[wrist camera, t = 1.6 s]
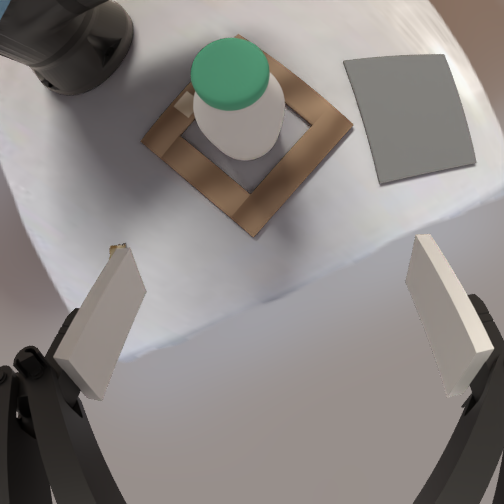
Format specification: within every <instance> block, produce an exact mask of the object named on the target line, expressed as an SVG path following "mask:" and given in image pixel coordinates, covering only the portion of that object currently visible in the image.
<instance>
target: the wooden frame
mask: <svg viewBox="0 0 504 504" xmlns="http://www.w3.org/2000/svg"><path fill="white" fill-rule="evenodd" d="M235 38H239V39H244V40H247V39H245V38H244V37H242V36H241V35H239V34H238V35H237V36H236V37H235ZM247 41H248V40H247ZM249 42H250V41H249ZM259 49H260V48H259ZM260 50H261V49H260ZM261 51H262V52H263V53H264V55H265V56H266V58H267V60H268V64H269V71H270V73H271V74H272V75H273V76H274V77H275V78H276V80H277V81H278V83H279V84H280V86H281V88H282V91H283V94H284V99H285V103H286V104H287V105H288V106H289V107H291V108H292V109H293V110H294V111H295V112H297V113H298V114H299V115H300V116H301V117H303V118H304V119H305V120H306V121H307V122H308V123H310V124H311V125H312V126H311V127H310V128H309V130H308V131H307V132H306V133H305V134H304V135H303V136H302V137H301V138H300V139H299V141H298V142H297V143H296V144H295V145H294V146H293V147H292V148H291V149H290V150H289V152H288V153H287V154H286V155H285V156H284V157H283V158H282V159H281V161H280V162H279V163H278V164H277V165H276V166H275V167H274V168H273V169H272V171H271V172H270V173H269V174H268V175H267V176H266V177H265V179H264V180H263V181H262V182H261V183H260V184H259V185H258V187H257V188H256V189H255V190H254V191H253V192H252V193H251V195H250V194H249V193H248V192H247V191H246V190H245V189H243V188H242V187H241V186H240V185H239V184H238V183H236V182H235V181H234V180H233V179H232V178H230V177H229V176H228V175H227V174H226V173H225V172H223V171H222V170H221V169H220V168H219V167H217V166H216V165H215V164H214V163H213V162H211V161H210V160H209V159H208V158H207V157H205V156H204V155H203V154H202V153H200V152H199V151H198V150H197V149H196V148H194V147H193V146H192V145H191V144H189V143H188V142H187V141H186V140H185V139H183V138H182V137H181V135H182V134H183V132H184V131H185V130H186V129H187V128H188V127H189V125H190V124H191V123H192V122H193V121H194V120H195V115H194V110H193V100H194V94H195V89H194V87H193V85H192V82H190V83H189V84H188V85H187V86H186V87H185V89H184V90H183V91H182V92H181V93H180V94H179V95H178V96H177V97H176V99H175V100H174V101H173V102H172V103H171V104H170V106H169V107H168V108H167V109H166V110H165V111H164V113H163V114H162V115H161V116H160V117H159V119H158V120H157V121H156V122H155V123H154V125H153V126H152V127H151V128H150V130H149V131H148V132H147V133H146V135H145V136H144V137H143V139H142V140H141V141H140V142H141V143H143V144H144V145H145V146H146V147H147V148H149V149H150V150H151V151H152V152H153V153H155V154H156V155H157V156H158V157H159V158H161V159H162V160H163V161H164V162H165V163H166V164H168V165H169V166H170V167H171V168H172V169H174V170H175V171H176V172H177V173H178V174H180V175H181V176H182V177H183V178H184V179H185V180H187V181H188V182H189V183H190V184H191V185H193V186H194V187H195V188H196V189H197V190H198V191H200V192H201V193H202V194H203V195H204V196H205V197H207V198H208V199H209V200H210V201H211V202H213V203H214V204H215V205H216V206H217V207H218V208H220V209H221V210H222V211H223V212H224V213H225V214H227V215H228V216H229V217H230V218H231V219H232V220H234V221H235V222H236V223H237V224H238V225H239V226H241V227H242V228H243V229H244V230H245V231H246V232H248V233H249V234H250V235H251V236H252V237H254V236H255V235H256V234H257V233H258V232H259V231H260V230H261V228H262V227H263V226H264V225H265V224H266V223H267V222H268V220H269V219H270V218H271V217H272V216H273V215H274V214H275V213H276V211H277V210H278V209H279V208H280V207H281V206H282V205H283V203H284V202H285V201H286V200H287V199H288V198H289V197H290V196H291V194H292V193H293V192H294V191H295V190H296V189H297V188H298V187H299V185H300V184H301V183H302V182H303V181H304V180H305V179H306V177H307V176H308V175H309V174H310V173H311V172H312V171H313V170H314V168H315V167H316V166H317V165H318V164H319V163H320V162H321V161H322V160H323V158H324V157H325V156H326V155H327V154H328V153H329V152H330V151H331V149H332V148H333V147H334V146H335V145H336V144H337V143H338V142H339V140H340V139H341V138H342V137H343V136H344V135H345V134H346V133H347V132H348V130H349V129H350V128H351V127H352V126H353V124H352V123H351V122H350V121H349V120H348V119H347V118H346V117H345V116H344V115H342V114H341V113H340V112H339V111H338V110H337V109H336V108H335V107H333V106H332V105H331V104H330V103H329V102H328V101H327V100H325V99H324V98H323V97H322V96H321V95H320V94H318V93H317V92H316V91H315V90H314V89H312V88H311V87H310V86H309V85H307V84H306V83H305V82H304V81H302V80H301V79H300V78H299V77H297V76H296V75H295V74H294V73H292V72H291V71H290V70H288V69H287V68H286V67H284V66H283V65H282V64H280V63H279V62H278V61H276V60H275V59H274V58H272V57H271V56H270V55H268V54H267V53H265V52H264V51H263V50H261Z"/></svg>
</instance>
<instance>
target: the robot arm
mask: <svg viewBox="0 0 504 504" xmlns="http://www.w3.org/2000/svg"><path fill="white" fill-rule="evenodd" d="M132 35H133V25H132V21H131V18H130V16H129V15H128V13H127V12H126V11H125V10H124V9H123V8H122V6H121V5H119V4H118V3H117V2H115V1H113V0H0V55H2V56H4V57H7V58H10V59H12V60H15V61H18V62H20V63H23V64H25V65H27V66H29V67H30V68H31V69H32V70H33V72H34V73H35V74H36V76H37V77H38V78H39V80H40V81H41V82H42V83H43V85H44V86H46V87H47V88H48V89H50V90H52V91H55V92H57V93H60V94H63V95H77V94H81V93H84V92H87V91H89V90H91V89H93V88H95V87H96V86H98V85H99V84H101V83H102V82H104V81H105V80H106V79H107V78H108V77H109V76H110V75H111V74H112V73H113V72H114V71H115V70H116V69H117V68H118V66H119V65H120V64H121V62H122V61H123V59H124V57H125V56H126V54H127V52H128V50H129V47H130V44H131V41H132ZM405 283H406V285H407V287H408V290H409V292H410V295H411V297H412V299H413V302H414V304H415V307H416V309H417V312H418V314H419V317H420V320H421V322H422V325H423V327H424V330H425V333H426V336H427V338H428V341H429V344H430V347H431V350H432V352H433V355H434V358H435V361H436V364H437V367H438V370H439V373H440V377H441V380H442V383H443V386H444V390H445V393H446V396H447V397H451V396H456V395H460V394H463V393H464V392H465V391H466V389H467V388H468V387H469V385H470V387H471V390H472V394H471V395H470V396H469V398H468V399H467V400H466V401H465V402H464V404H463V405H462V407H465V408H464V411H463V413H462V415H461V417H460V420H459V422H458V424H457V426H456V428H455V430H454V432H453V434H452V436H451V439H450V440H449V442H448V444H447V446H446V448H445V450H444V452H443V454H442V456H441V458H440V460H439V461H438V463H437V465H436V467H435V468H434V470H433V472H432V474H431V475H430V477H429V479H428V480H427V482H426V484H425V485H424V487H423V489H422V490H421V492H420V493H419V495H418V496H417V498H416V499H415V501H414V502H413V504H479V503H480V501H481V499H482V497H483V495H484V493H485V491H486V489H487V487H488V485H489V482H490V480H491V478H492V476H493V473H494V471H495V469H496V466H497V464H498V461H499V459H500V456H501V454H502V451H503V457H502V462H501V467H500V473H499V478H498V482H497V487H496V491H495V495H494V499H493V503H492V504H504V450H503V448H504V340H503V338H502V336H501V334H500V332H499V330H498V328H497V326H496V324H495V322H493V318H492V317H491V315H490V314H489V311H488V309H487V307H486V306H485V304H484V303H483V301H482V300H481V299H480V298H479V297H478V296H476V295H475V294H471V295H467V294H466V292H465V290H464V289H463V287H462V285H461V283H460V282H459V280H458V278H457V276H456V275H455V273H454V271H453V270H452V268H451V266H450V265H449V263H448V261H447V260H446V258H445V257H444V255H443V254H442V252H441V250H440V249H439V247H438V246H437V244H436V242H435V241H434V239H433V238H432V237H431V235H430V234H420V235H415V240H414V245H413V250H412V255H411V259H410V263H409V268H408V272H407V276H406V280H405ZM146 292H147V291H146V289H145V286H144V284H143V281H142V278H141V276H140V273H139V270H138V268H137V265H136V262H135V260H134V257H133V254H132V251H131V249H130V248H119V249H116V251H115V252H114V254H113V255H112V257H111V258H110V260H109V261H108V263H107V264H106V266H105V268H104V269H103V271H102V272H101V274H100V275H99V277H98V279H97V280H96V282H95V284H94V285H93V287H92V288H91V290H90V292H89V293H88V295H87V297H86V298H85V300H84V302H83V304H82V305H81V307H80V308H75V309H74V310H73V311H72V312H71V313H70V314H69V315H68V316H67V318H66V319H65V321H64V323H63V325H62V327H61V328H60V330H59V332H58V334H57V335H56V337H55V339H54V341H53V343H52V344H51V347H50V348H49V350H48V352H47V354H46V356H45V357H44V356H43V355H42V354H41V352H40V351H39V350H38V348H36V347H35V346H27V347H25V348H23V349H22V350H20V351H19V353H18V354H17V355H16V357H15V359H14V363H13V366H14V367H15V368H16V369H17V370H18V371H19V372H17V373H15V372H14V371H13V370H12V369H11V368H10V367H9V366H2V367H0V504H52V497H51V490H50V486H51V489H52V492H53V494H54V497H55V500H56V502H57V504H126V502H125V500H124V498H123V496H122V494H121V492H120V491H119V489H118V487H117V485H116V483H115V481H114V479H113V477H112V475H111V473H110V470H109V468H108V466H107V464H106V462H105V460H104V457H103V455H102V453H101V451H100V448H99V446H98V444H97V441H96V439H95V436H94V434H93V431H92V429H91V426H90V424H89V421H88V418H87V416H86V413H85V410H84V408H83V405H82V402H81V400H80V398H79V397H78V395H79V393H80V391H81V392H82V393H83V394H84V395H85V396H86V397H87V398H89V399H94V400H99V401H102V400H103V398H104V395H105V392H106V389H107V387H108V384H109V381H110V379H111V376H112V374H113V371H114V368H115V366H116V363H117V361H118V358H119V356H120V353H121V351H122V348H123V346H124V343H125V341H126V338H127V336H128V333H129V331H130V329H131V326H132V324H133V322H134V319H135V317H136V315H137V312H138V310H139V308H140V305H141V303H142V301H143V298H144V296H145V294H146ZM465 405H466V406H465ZM16 411H17V412H18V418H16Z"/></svg>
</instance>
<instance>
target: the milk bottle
mask: <svg viewBox="0 0 504 504" xmlns="http://www.w3.org/2000/svg"><path fill="white" fill-rule="evenodd" d="M191 82H192V85H193V87H194V89H195V94H194V100H193V110H194V115H195V119H196V122H197V124H198V126H199V128H200V129H201V131H202V132H203V133H204V135H205V136H206V137H207V138H208V139H209V140H210V141H211V142H212V143H213V144H214V145H215V146H216V147H217V148H218V149H219V150H220V151H222V152H223V153H224V154H225V155H227V156H229V157H231V158H233V159H237V160H244V161H246V160H254V159H257V158H259V157H262V156H263V155H265V154H266V153H267V152H269V151H270V150H271V148H272V147H273V146H274V144H275V143H276V141H277V138H278V136H279V133H280V130H281V126H282V123H283V119H284V113H285V99H284V94H283V91H282V88H281V86H280V84H279V83H278V81H277V80H276V78H275V77H274V76H273V75H272V74H271V73H270V71H269V64H268V60H267V58H266V56H265V55H264V53H263V52H262V51H261V50H260V49H259V48H258V47H257V46H256V45H254V44H253V43H251V42H249V41H247V40H244V39H239V38H224V39H220V40H217V41H214V42H212V43H210V44H208V45H207V46H205V47H204V48H203V49H202V50H201V51H200V52H199V53H198V54H197V56H196V57H195V59H194V61H193V64H192V68H191Z"/></svg>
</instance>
